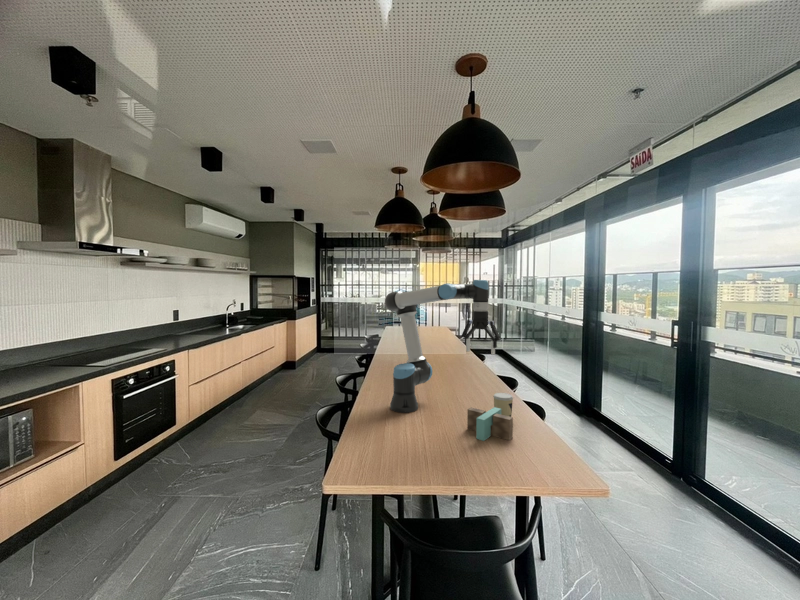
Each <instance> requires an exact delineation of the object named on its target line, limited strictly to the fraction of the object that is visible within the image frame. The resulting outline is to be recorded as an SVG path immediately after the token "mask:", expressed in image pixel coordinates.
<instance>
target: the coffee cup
mask: <svg viewBox="0 0 800 600" xmlns="http://www.w3.org/2000/svg"><path fill="white" fill-rule="evenodd" d="M492 396H493V406H494V407H496V408H500V409H501V415H505V416H509V417H512V412H513V400H514V397H513V395H512V394H510V393H507V392H495V393H494V394H493V395H492ZM494 407H493V408H494Z"/></svg>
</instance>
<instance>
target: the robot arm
mask: <svg viewBox="0 0 800 600" xmlns="http://www.w3.org/2000/svg"><path fill="white" fill-rule="evenodd" d="M489 290H490V288H489V281H488V280H487V279H474V280H473V282H472V283H449V282H448V283H443V284H441V285H436V286H432V287H427V288H425V287H424V288H422V289H415V290H410V291H406V290H405V291H392V292H389V293H388V294H387V295H386V297H385V299H384V304H385V307H386V309H387V310H388V311H390V312H392V313H396V316H397V317H398V318H399V319H400V322H401V327H402V332H403V338H404V343H405V347H406V348H405V349H406V353H407V358H408V359H407V360H406V362H405V363H399V364H397V365H395V366H394V367H393V373H392V375H393V376H392V378H393V380H392V381H393V382H392V383H393V395H392V397H391V401H390V407H389V408H390V410H391V411H394V412H396V413H403V414H404V413H407V414H408V413H412V412H413V413H414V412H416V411H417V410H418V409H419V403H418V400H417V396H416V391H415V390H416V386H418V385H421V384H424V383H427V382H428V381H430V379H432V376H433V367H432V365H431V364H430V363H429V362H428V361H427V358H426V357H425V356H424V355H423V350H422V346H421V345H422V344H421V340H420V335H419V331H418V325H417V319H416V314H417V308H418V306H419V305H422V304H428V303H435V302H440V301H446V300H447V301H448V300H457V299H466V300H467V299H468V300H469V299H472V310H473V311H472V319H467V320H466V324H465V328H464V330H463V332H462V333H461V337H462V338H464V345H465V347H466V348H465V349H466V350H465V351H466V352H471V338H470V337H471V335H472V334H473V333H474V332H475V331H476V330H484V331H485V332H486V334H487V335H488V336H489V337H490V339H491V342H490V343H491V344H490V352H491V355H492V356H493V355H496V348H497V345H498V341H500V340H501V339H502V338H501V336H500V334H499V331H498V329H497V327H496V323H495V320H490V321H489V311H488V310H489V292H490V291H489ZM472 324H473V326H472V327H471V325H472ZM489 326H490V327H489ZM470 328H471V329H470Z"/></svg>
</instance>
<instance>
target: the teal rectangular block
mask: <svg viewBox="0 0 800 600" xmlns="http://www.w3.org/2000/svg"><path fill="white" fill-rule="evenodd" d="M495 414H501V409H500V408H496V407H492V408H491V409H489V410H487V411H486V413H484V414H482V415H481V416H479V417H478V418H477V425H476V431H475V432H476V434H475V435H476V438H475V439H477V440H479V441H483V442H485V441H486V440H487V439H489V438H490V437H492V436H491V425H493V415H495Z"/></svg>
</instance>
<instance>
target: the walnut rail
mask: <svg viewBox="0 0 800 600" xmlns="http://www.w3.org/2000/svg"><path fill="white" fill-rule="evenodd" d="M486 412H487V411H486V410H483V409H479V408H476V407H469V408H467V412H466V413H467V414H466V415H467V417H466V418H467V419H466V420H467V424H466V425H467V427H466V429H467V430H471V431H474V432H476V425H477V418H478V417H479V416H481V415H482V414H484V413H486ZM513 420H514V417H512V416H511V417H509V416H505V415H501V414H495V415H493V425H491V436H490V437H494V438H498V439H499V438H500V439H503V440H504V441H511V440H512V439H513V437H514V436H513V434H514V433H513V432H514V431H513V430H514V429H513V428H514V427H513V425H514V423H513V422H514V421H513Z"/></svg>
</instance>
